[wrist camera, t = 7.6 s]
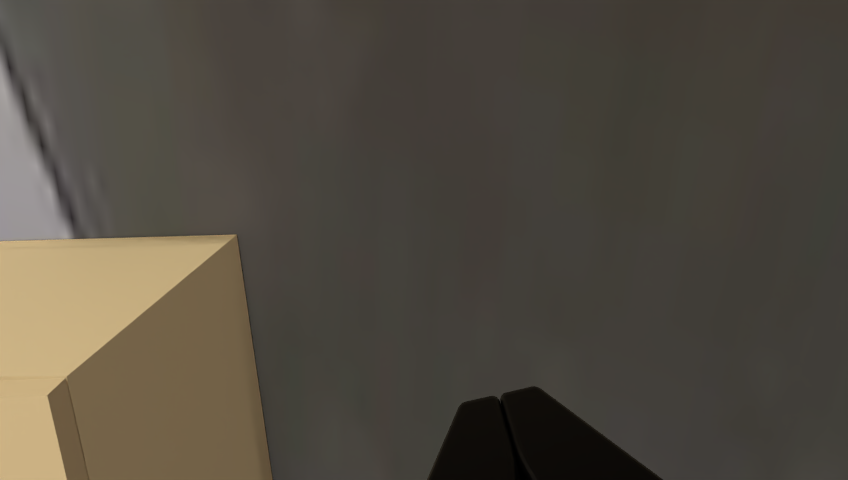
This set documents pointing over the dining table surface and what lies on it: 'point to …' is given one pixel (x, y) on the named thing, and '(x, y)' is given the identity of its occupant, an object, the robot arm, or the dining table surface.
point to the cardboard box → (141, 351)
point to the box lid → (38, 432)
